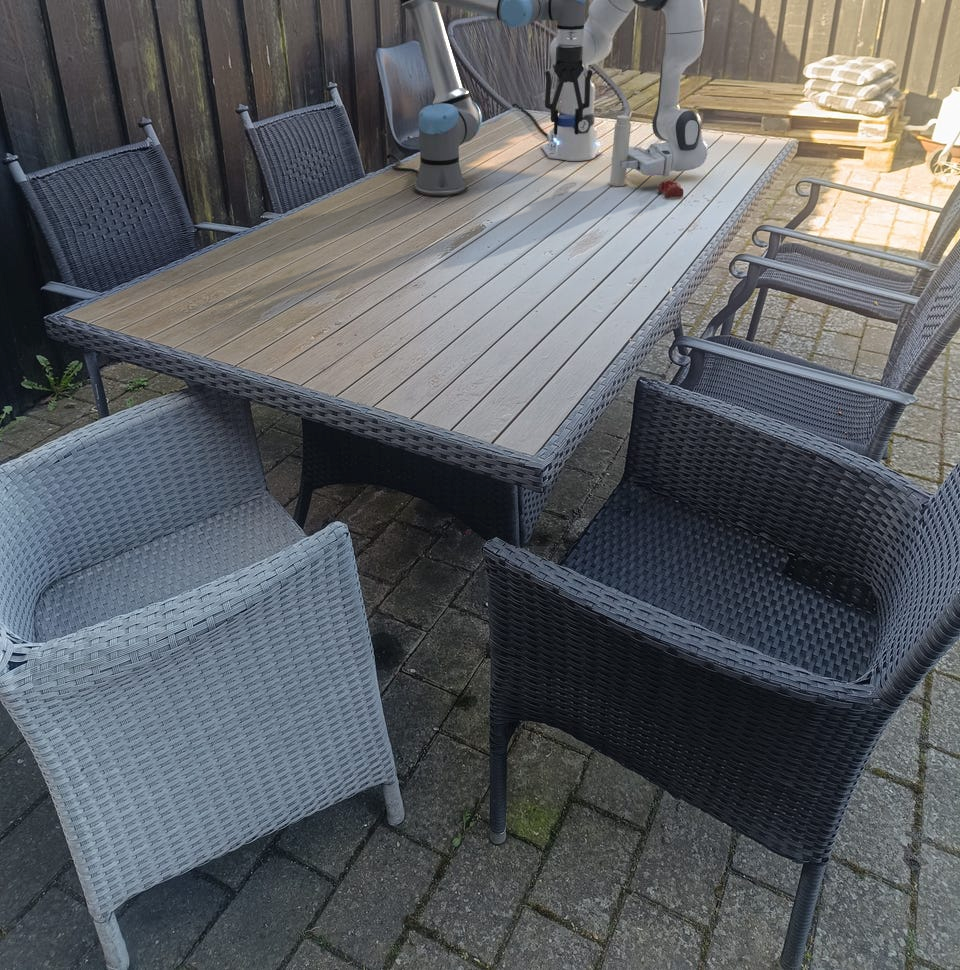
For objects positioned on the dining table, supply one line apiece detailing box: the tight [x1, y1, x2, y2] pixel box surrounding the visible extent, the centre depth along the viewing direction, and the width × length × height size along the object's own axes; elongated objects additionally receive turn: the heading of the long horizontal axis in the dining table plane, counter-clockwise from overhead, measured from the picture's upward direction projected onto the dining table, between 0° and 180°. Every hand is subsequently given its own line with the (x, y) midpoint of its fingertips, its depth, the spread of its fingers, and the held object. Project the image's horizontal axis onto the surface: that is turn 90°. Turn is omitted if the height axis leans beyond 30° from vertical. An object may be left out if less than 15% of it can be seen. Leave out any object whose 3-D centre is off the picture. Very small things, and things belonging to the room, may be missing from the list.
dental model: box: [657, 179, 684, 199], centre depth 253 cm, size 6×4×8 cm
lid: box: [558, 114, 576, 127], centre depth 246 cm, size 6×6×2 cm
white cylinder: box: [609, 114, 632, 187], centre depth 257 cm, size 5×5×20 cm
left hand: (565, 133), depth 248 cm, fingers closed on lid, 5 cm apart
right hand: (616, 162), depth 259 cm, fingers closed on white cylinder, 5 cm apart
